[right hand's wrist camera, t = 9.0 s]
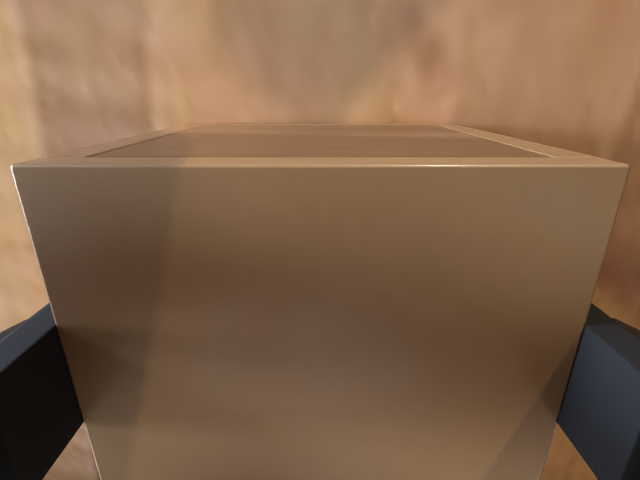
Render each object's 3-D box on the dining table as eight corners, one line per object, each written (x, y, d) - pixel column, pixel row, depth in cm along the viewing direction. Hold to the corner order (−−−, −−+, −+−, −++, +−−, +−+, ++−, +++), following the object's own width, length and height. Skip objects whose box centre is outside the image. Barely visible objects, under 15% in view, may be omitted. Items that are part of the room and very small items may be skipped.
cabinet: (411, 476, 24) (470, 724, 14) (229, 476, 24) (170, 723, 14) (453, 123, 16) (633, 164, 7) (187, 123, 16) (7, 164, 7)
